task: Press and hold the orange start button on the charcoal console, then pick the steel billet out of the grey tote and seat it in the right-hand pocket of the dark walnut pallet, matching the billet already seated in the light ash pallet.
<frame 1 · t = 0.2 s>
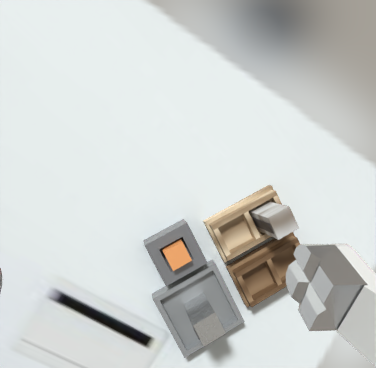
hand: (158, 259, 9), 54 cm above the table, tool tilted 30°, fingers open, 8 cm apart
billet: (198, 307, 64), point 1 cm above the table, touching tote
start button: (176, 254, 60), point 4 cm above the table, slide at 0.0 cm
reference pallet: (245, 222, 66), on the table
button console: (173, 249, 64), on the table
tote: (197, 305, 65), on the table
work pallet: (267, 266, 68), on the table
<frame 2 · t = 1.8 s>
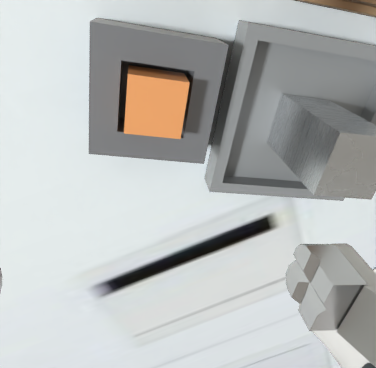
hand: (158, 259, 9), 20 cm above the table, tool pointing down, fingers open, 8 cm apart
billet: (296, 121, 28), point 1 cm above the table, touching tote
start button: (154, 102, 22), point 4 cm above the table, slide at 0.0 cm
button console: (152, 88, 26), on the table
tote: (292, 118, 29), on the table
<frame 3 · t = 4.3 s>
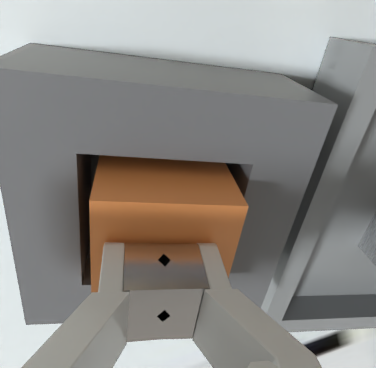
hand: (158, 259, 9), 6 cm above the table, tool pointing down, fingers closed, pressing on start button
start button: (161, 228, 10), point 4 cm above the table, slide at 0.0 cm, touching gripper
button console: (154, 170, 13), on the table
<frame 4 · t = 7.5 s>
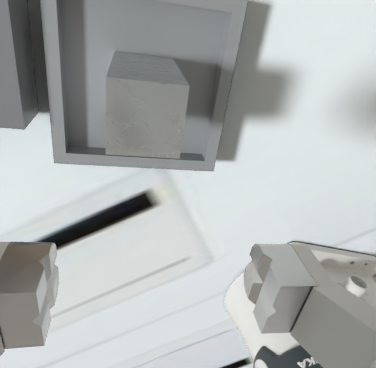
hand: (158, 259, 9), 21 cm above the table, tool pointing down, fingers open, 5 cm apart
billet: (142, 83, 26), point 1 cm above the table, touching tote
tote: (142, 80, 26), on the table
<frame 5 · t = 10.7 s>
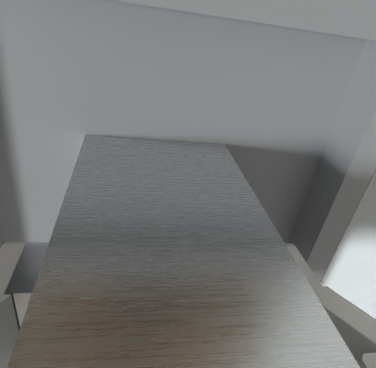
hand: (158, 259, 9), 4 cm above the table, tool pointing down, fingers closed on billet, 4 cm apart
billet: (152, 197, 11), point 1 cm above the table, touching gripper, tote
tote: (151, 183, 12), on the table
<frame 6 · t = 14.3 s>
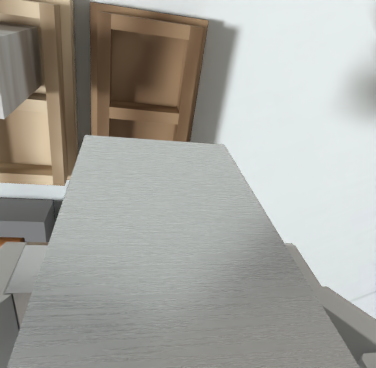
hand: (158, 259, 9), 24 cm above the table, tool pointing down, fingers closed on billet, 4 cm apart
billet: (152, 198, 11), point 21 cm above the table, touching gripper
start button: (3, 251, 33), point 3 cm above the table, slide at 0.8 cm
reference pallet: (21, 92, 28), on the table
button console: (13, 231, 36), on the table
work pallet: (143, 104, 30), on the table
when the fingers open (6 cm above the table, at t = 18.2 s): billet stays where it is, resting on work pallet.
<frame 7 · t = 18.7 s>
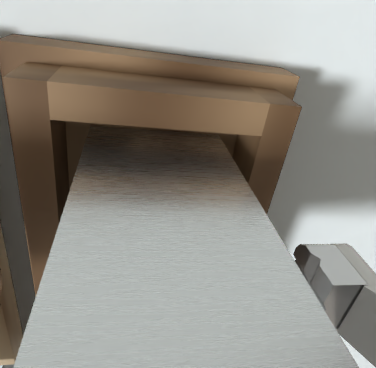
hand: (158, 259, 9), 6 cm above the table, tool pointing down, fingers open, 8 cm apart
billet: (152, 185, 12), point 1 cm above the table, touching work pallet
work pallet: (143, 229, 15), on the table
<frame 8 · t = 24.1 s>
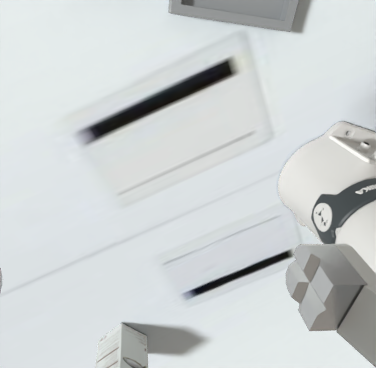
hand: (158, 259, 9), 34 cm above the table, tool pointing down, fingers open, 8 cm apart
supplement box: (122, 336, 65), on the table
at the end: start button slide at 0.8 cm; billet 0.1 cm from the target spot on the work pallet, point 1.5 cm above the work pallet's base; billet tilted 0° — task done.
